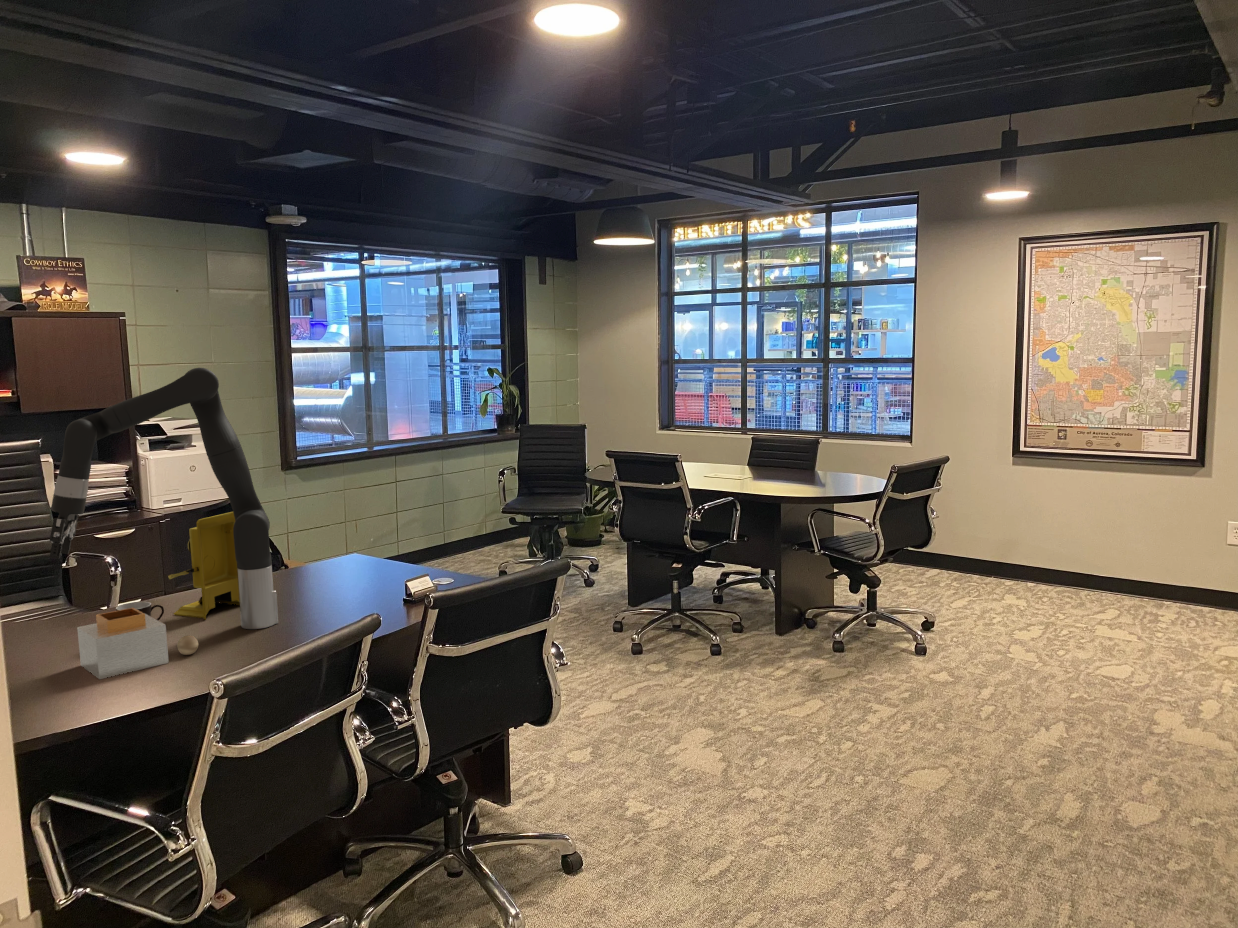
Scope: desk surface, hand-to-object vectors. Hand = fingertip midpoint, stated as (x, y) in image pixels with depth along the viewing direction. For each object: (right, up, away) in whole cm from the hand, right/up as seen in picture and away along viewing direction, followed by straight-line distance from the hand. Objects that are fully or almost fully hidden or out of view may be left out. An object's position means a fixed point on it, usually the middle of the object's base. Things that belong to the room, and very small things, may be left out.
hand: (59, 555), depth 242 cm
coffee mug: (+16, -25, +12) cm, 32 cm away
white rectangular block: (+21, -27, -8) cm, 35 cm away
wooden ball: (+34, -26, -1) cm, 43 cm away
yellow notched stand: (+22, -21, +42) cm, 52 cm away
